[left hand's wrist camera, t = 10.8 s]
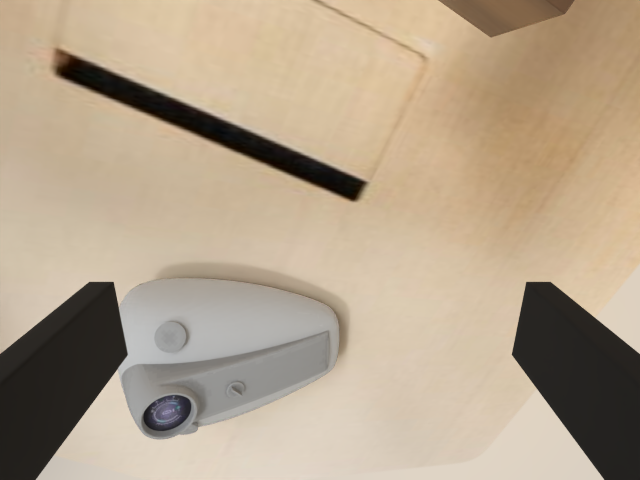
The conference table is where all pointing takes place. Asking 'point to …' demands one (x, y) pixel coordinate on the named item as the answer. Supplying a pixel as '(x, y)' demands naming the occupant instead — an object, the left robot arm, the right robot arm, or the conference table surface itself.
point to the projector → (218, 350)
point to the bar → (506, 13)
